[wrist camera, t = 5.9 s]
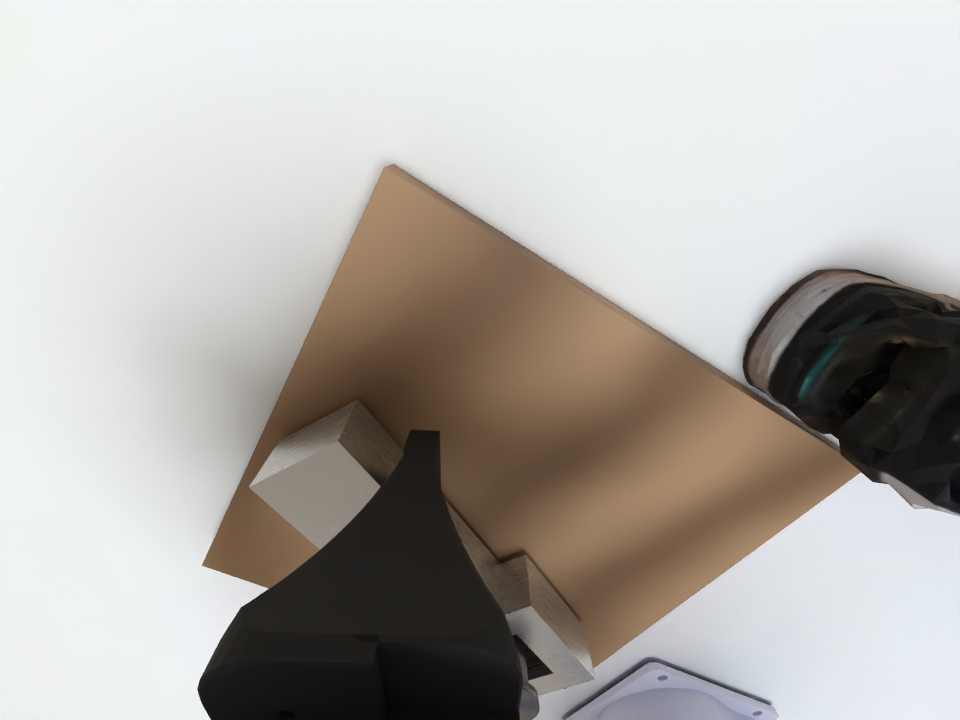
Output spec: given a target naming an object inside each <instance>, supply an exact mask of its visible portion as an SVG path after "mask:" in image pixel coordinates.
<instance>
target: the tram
mask: <svg viewBox="0 0 960 720" xmlns="http://www.w3.org/2000/svg"><path fill="white" fill-rule="evenodd" d="M743 370H744V374H745V378H746V379H747V381H748V383H749V384H750V385H751V386H753V387H755V388H757V389H759V390H760V391H762V392H764V393H766V394H767V395H768V396H769V397H770V398H771V399H772V400H773V401H774V402H776V403H778V404H780V405H783V406H785V407H786V408H788V409H789V410H791V411H792V412H793V413H794V414H795V415H796V416H797V417H798V418H799V419H800V420H801V421H802V422H804V423H805V424H806V425H807V426H808V427H810V428H812V429H814V430H816V431H818V432H820V433H822V434H832V435H833V436H835V437H836V438H837V439H839V445H840V453H841V456H843V457H844V458H845V459H846V460H847V461H849V462H850V463H851V464H852V465H853V466H855V467H856V468H857V469H858V470H859V471H860V472H862V473H863V474H864V475H865V476H866V477H868V478H869V479H870V480H871V481H872V482H877V483H884V484H889V485H890V486H891V487H892V488H893V489H895V490H896V491H897V492H898V493H899V494H900V495H901V496H902V497H903V498H904V499H905V500H906V501H907V502H908V503H909V504H910V505H911V506H912V507H913V508H914V509H923V508H930V509H934V510H938V511H942V512H946V513H949V514H953V515H957V516H960V300H957V299H954V298H952V297H949V296H947V295H943V294H931V293H928V292H924V291H920V290H917V289H913V288H910V287H906V286H902V285H899V284H897V283H895V282H893V281H891V280H889V279H887V278H884V277H881V276H877V275H874V274H869V273H865V272H862V271H859V270H825V271H818V272H815V273H812V274H810V275H809V276H807V277H806V278H804V279H802V280H801V281H799V282H798V283H797V284H796V285H794V286H793V287H792V288H791V289H790V290H789V291H787V292H786V293H785V294H784V295H783V296H782V297H780V298H779V299H778V300H777V301H776V302H775V303H774V304H773V305H772V306H771V307H770V309H769V310H768V312H767V313H766V315H765V316H764V318H763V319H762V321H761V323H760V324H759V326H758V327H757V329H756V331H755V332H754V334H753V336H752V337H751V339H750V340H749V344H748V348H747V351H746V355H745V360H744V364H743Z"/></svg>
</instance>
